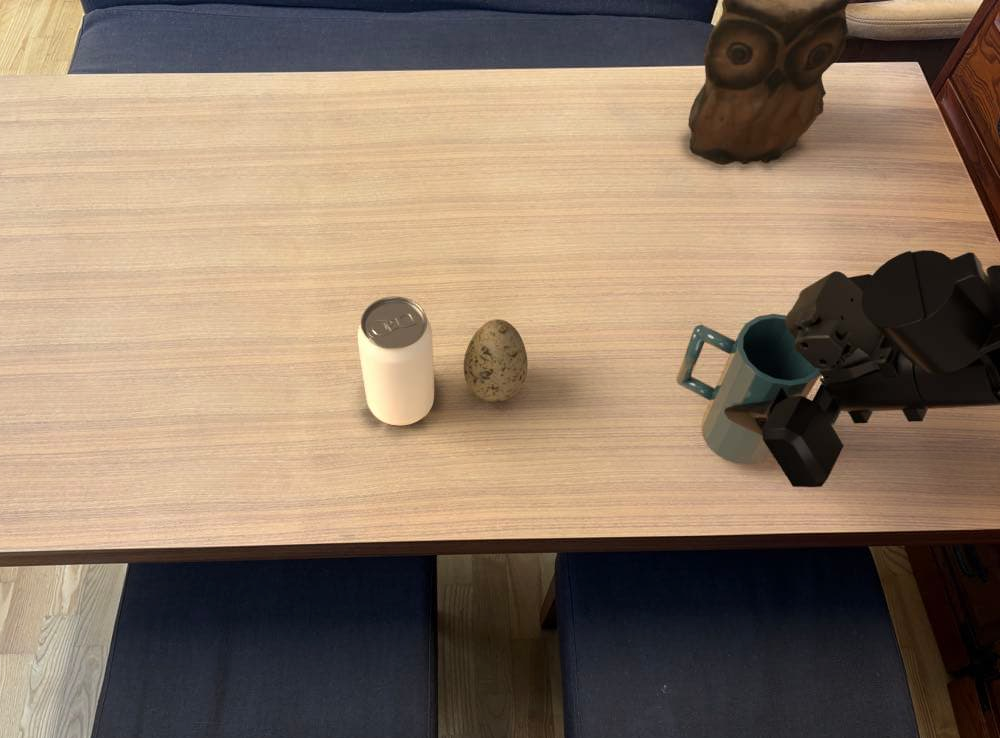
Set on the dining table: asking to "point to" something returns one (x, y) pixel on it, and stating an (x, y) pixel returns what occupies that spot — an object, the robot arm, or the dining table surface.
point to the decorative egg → (495, 361)
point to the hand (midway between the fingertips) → (744, 384)
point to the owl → (764, 77)
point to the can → (397, 360)
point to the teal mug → (746, 381)
